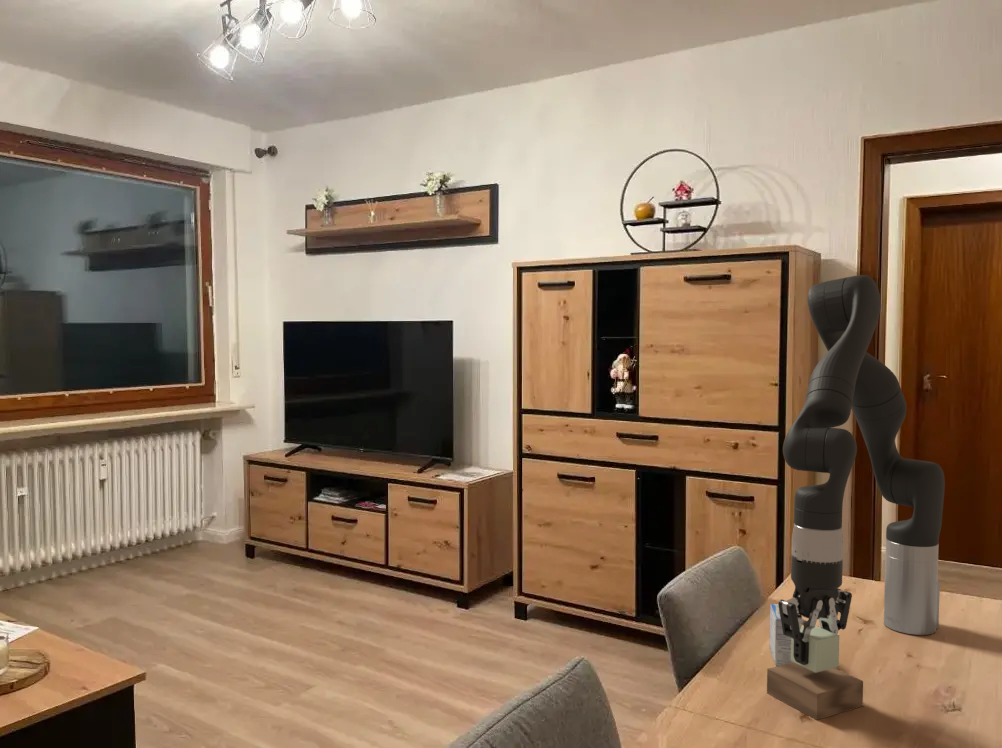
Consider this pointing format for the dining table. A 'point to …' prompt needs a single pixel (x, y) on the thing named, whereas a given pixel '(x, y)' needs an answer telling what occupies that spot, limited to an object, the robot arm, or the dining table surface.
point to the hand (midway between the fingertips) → (814, 659)
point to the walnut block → (815, 689)
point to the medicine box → (779, 638)
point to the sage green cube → (820, 650)
